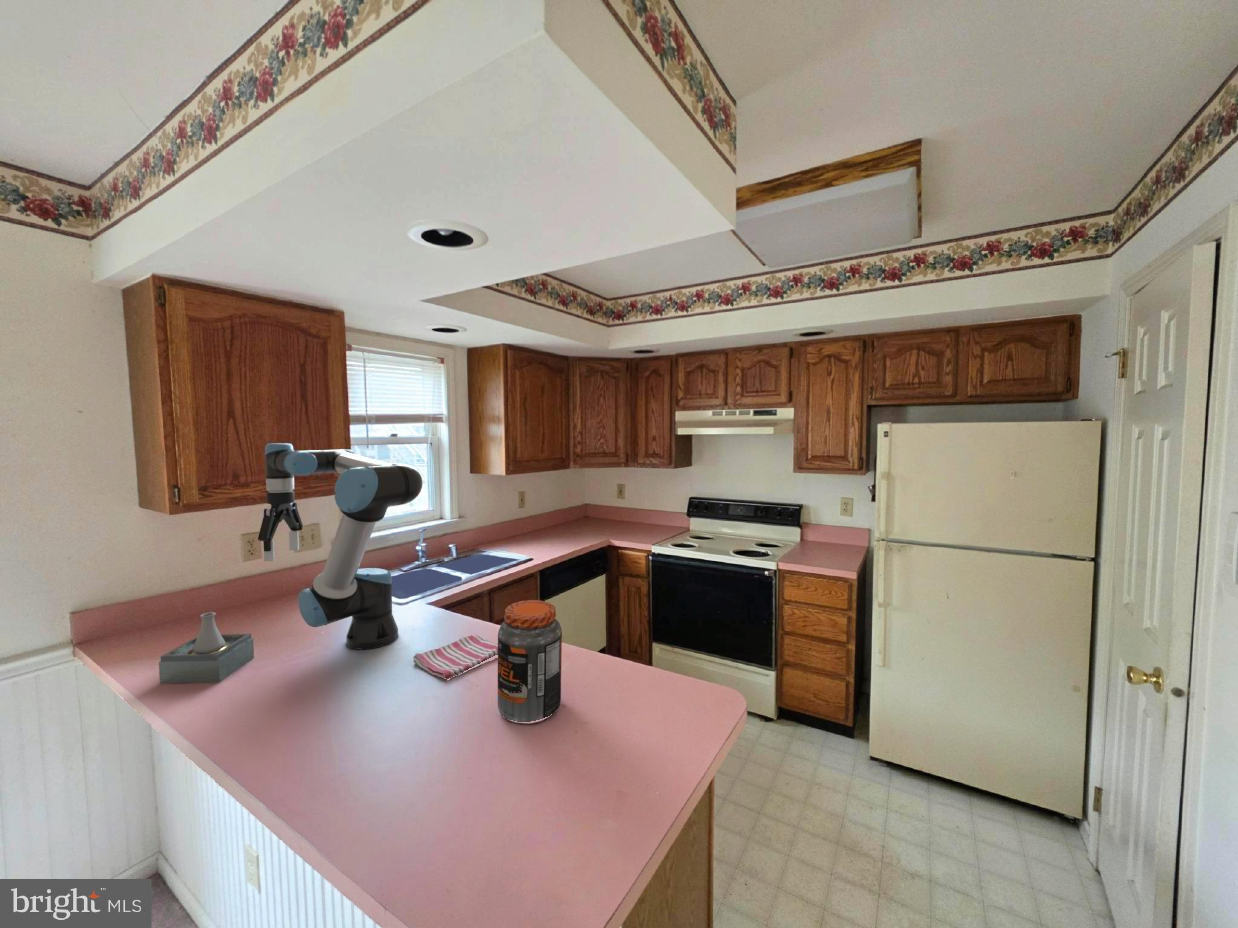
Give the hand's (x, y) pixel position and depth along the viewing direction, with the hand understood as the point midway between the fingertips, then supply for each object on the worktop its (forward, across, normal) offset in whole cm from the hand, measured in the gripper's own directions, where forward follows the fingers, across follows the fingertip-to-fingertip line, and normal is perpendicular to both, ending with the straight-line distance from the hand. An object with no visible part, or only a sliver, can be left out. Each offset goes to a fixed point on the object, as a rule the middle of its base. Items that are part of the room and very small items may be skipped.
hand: (282, 555), depth 160 cm
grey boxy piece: (+27, +23, -7) cm, 36 cm away
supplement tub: (+27, +47, +84) cm, 100 cm away
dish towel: (+28, +19, +62) cm, 70 cm away
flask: (+21, +23, -7) cm, 32 cm away
